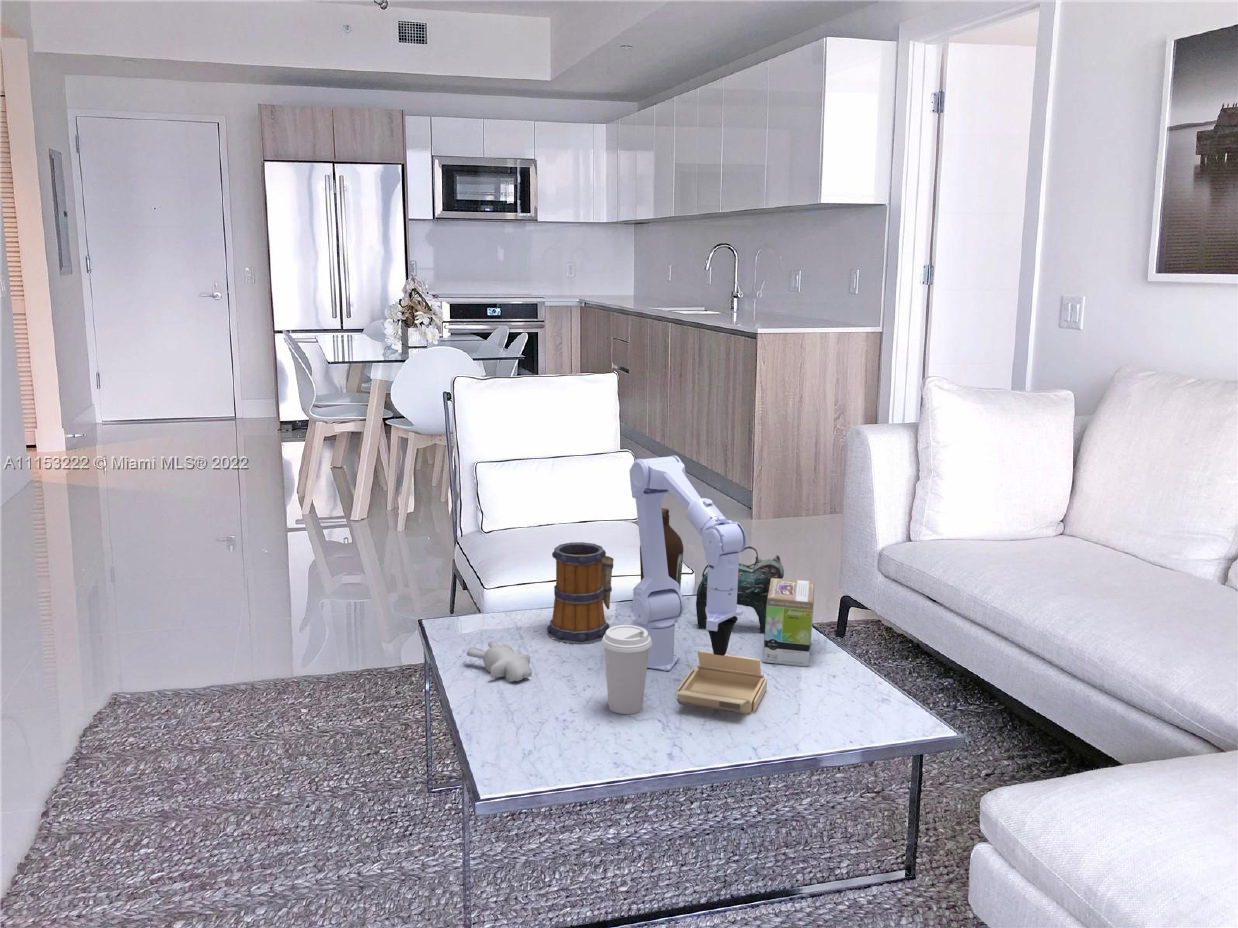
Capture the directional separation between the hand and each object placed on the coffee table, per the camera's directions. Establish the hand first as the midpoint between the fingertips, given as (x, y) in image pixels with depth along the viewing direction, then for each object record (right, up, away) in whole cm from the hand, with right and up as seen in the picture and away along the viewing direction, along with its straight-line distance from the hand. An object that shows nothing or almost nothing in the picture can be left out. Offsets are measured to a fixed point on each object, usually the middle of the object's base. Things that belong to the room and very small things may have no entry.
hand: (719, 653), depth 191 cm
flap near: (-1, -8, -1) cm, 8 cm away
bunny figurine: (-43, -7, +15) cm, 46 cm away
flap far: (+3, -5, +10) cm, 12 cm away
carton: (+1, -9, +5) cm, 10 cm away
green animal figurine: (+8, -2, +41) cm, 42 cm away
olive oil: (-9, +1, +54) cm, 55 cm away
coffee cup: (-18, -10, -1) cm, 21 cm away
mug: (-27, -2, +39) cm, 47 cm away
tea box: (+18, -5, +27) cm, 33 cm away
